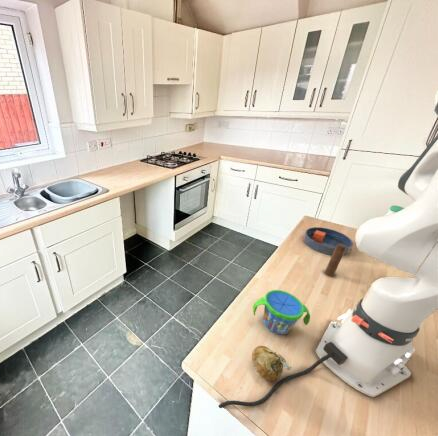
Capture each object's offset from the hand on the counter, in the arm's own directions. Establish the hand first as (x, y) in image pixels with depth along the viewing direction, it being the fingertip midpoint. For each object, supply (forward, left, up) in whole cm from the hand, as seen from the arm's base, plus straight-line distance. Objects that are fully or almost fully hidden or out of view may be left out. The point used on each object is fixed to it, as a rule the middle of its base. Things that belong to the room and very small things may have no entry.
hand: (367, 245), depth 87 cm
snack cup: (-44, +2, -16) cm, 47 cm away
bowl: (+15, +17, -16) cm, 27 cm away
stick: (-5, +6, -16) cm, 17 cm away
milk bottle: (+35, +4, -16) cm, 39 cm away
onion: (-59, -5, -16) cm, 61 cm away
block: (+15, +21, -15) cm, 30 cm away
